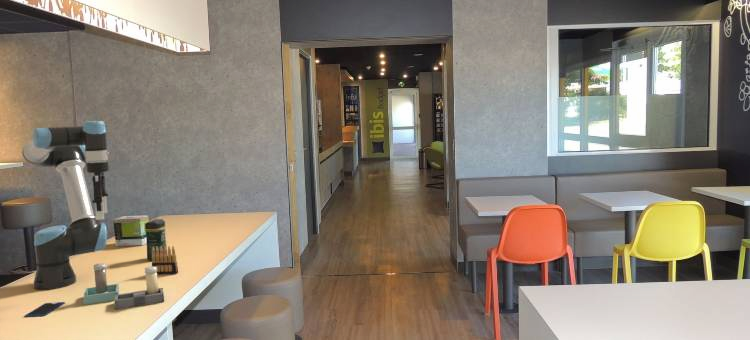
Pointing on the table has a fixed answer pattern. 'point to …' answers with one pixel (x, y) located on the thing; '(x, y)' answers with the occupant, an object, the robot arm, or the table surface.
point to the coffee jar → (155, 236)
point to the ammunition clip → (164, 261)
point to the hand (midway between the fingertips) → (101, 216)
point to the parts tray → (92, 297)
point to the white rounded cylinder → (151, 280)
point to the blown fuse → (100, 278)
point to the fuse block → (138, 299)
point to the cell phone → (44, 309)
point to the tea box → (130, 230)
